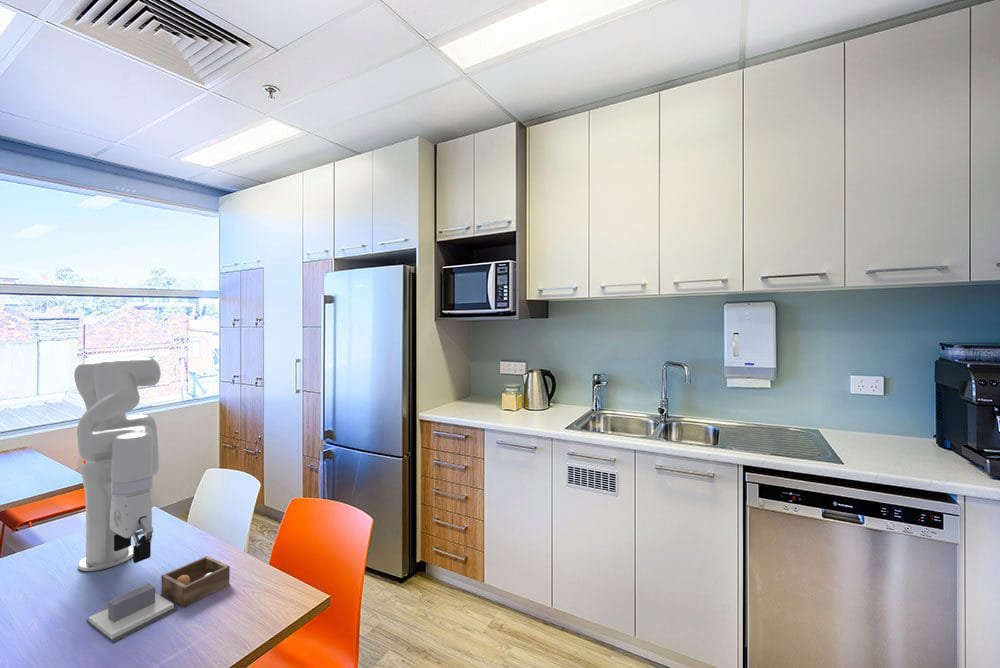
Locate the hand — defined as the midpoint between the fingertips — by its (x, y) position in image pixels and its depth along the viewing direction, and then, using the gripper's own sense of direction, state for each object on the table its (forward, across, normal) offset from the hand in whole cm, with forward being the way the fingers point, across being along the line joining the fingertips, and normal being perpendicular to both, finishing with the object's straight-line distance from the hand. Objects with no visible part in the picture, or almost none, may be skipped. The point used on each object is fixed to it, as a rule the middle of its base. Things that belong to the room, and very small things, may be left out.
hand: (132, 554), depth 102 cm
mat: (+15, +1, 0) cm, 15 cm away
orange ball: (+13, 0, +11) cm, 17 cm away
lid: (+14, +1, 0) cm, 15 cm away
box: (+15, +3, +13) cm, 20 cm away
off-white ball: (+12, +5, +15) cm, 20 cm away
